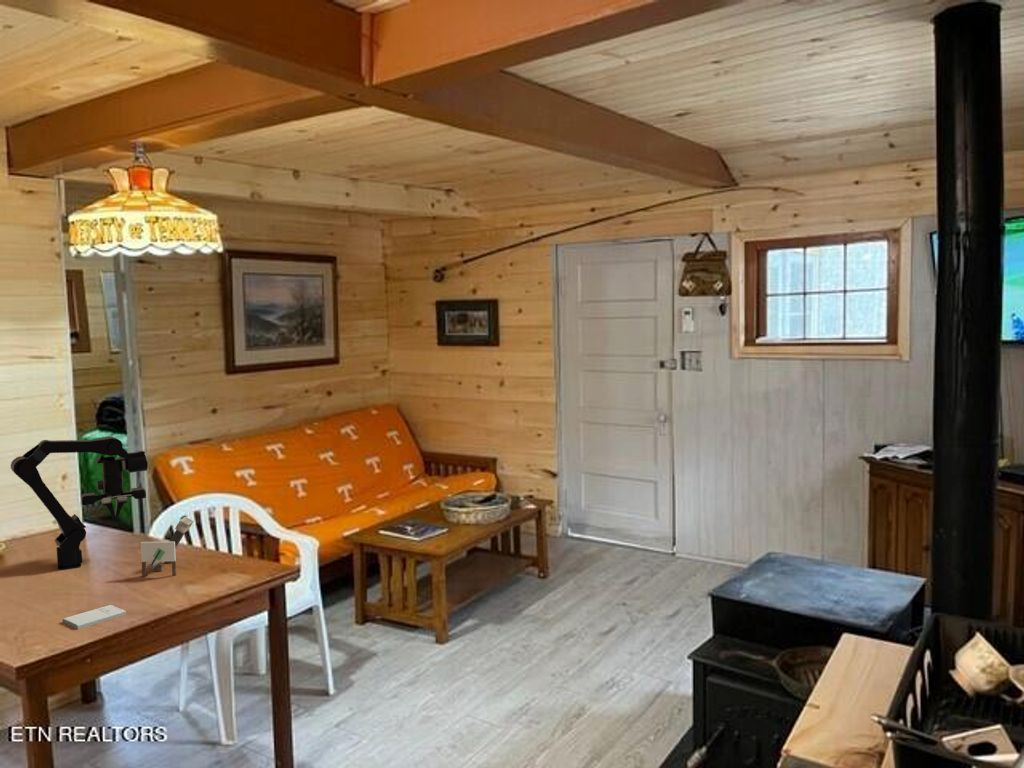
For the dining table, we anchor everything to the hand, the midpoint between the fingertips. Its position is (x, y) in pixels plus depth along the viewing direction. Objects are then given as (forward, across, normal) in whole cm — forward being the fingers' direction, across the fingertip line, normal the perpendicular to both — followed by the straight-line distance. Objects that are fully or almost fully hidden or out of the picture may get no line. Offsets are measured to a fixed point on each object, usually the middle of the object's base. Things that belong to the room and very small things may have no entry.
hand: (115, 521), depth 260 cm
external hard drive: (+13, +10, +57) cm, 59 cm away
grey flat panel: (+7, -9, +28) cm, 31 cm away
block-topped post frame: (+10, -10, +21) cm, 26 cm away
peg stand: (+12, -13, +22) cm, 28 cm away
